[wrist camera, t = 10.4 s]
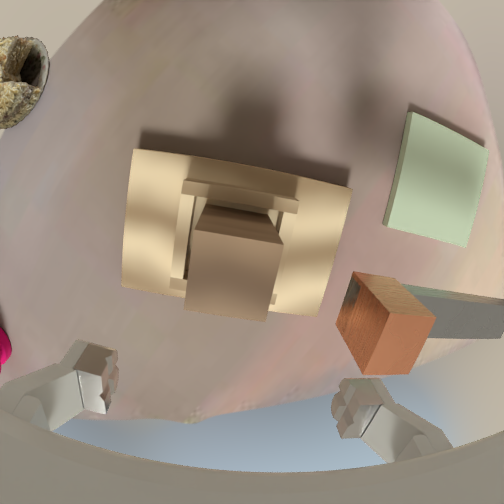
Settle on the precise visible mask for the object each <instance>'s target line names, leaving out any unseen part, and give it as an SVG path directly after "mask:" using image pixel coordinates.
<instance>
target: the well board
mask: <svg viewBox="0 0 504 504" xmlns="http://www.w3.org/2000/svg"><path fill="white" fill-rule="evenodd" d="M352 190H353V189H351V188H348V187H345V186H341V185H337V184H333V183H329V182H325V181H320V180H316V179H312V178H308V177H303V176H299V175H294V174H290V173H285V172H280V171H275V170H270V169H266V168H260V167H255V166H250V165H245V164H239V163H234V162H228V161H223V160H217V159H211V158H204V157H198V156H192V155H185V154H178V153H171V152H163V151H156V150H147V149H134V150H133V157H132V164H131V171H130V178H129V186H128V195H127V205H126V215H125V226H124V240H123V256H122V280H121V286H122V287H127V288H132V289H137V290H143V291H148V292H153V293H159V294H164V295H170V296H176V297H181V298H185V295H186V286H187V278H188V271H189V263H190V256H191V249H192V242H193V235H194V229H195V227H196V225H197V222H198V220H199V218H200V215H201V213H202V211H203V209H204V207H205V204H211V205H217V206H223V207H229V208H235V209H240V210H246V211H251V212H257V213H262V214H268V215H269V217H270V219H271V221H272V223H273V225H274V227H275V229H276V230H277V232H278V234H279V236H280V238H281V240H282V242H283V244H284V248H283V252H282V256H281V260H280V265H279V269H278V273H277V277H276V281H275V285H274V289H273V293H272V297H271V301H270V305H269V309H268V311H273V312H281V313H289V314H297V315H305V316H314V317H317V314H318V311H319V308H320V305H321V301H322V298H323V295H324V292H325V289H326V285H327V282H328V279H329V275H330V272H331V269H332V265H333V262H334V258H335V255H336V251H337V248H338V244H339V241H340V237H341V233H342V230H343V226H344V222H345V218H346V214H347V210H348V207H349V203H350V199H351V194H352Z"/></svg>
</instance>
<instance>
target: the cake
mask: <svg viewBox="0 0 504 504" xmlns="http://www.w3.org/2000/svg"><path fill="white" fill-rule="evenodd" d="M45 48H46V47H45V46H44V45H43V43H42V41H39V40H38V39H34V38H33V37H31V38H28V37H25V38H19V37H18V36H15V37H14V36H12V37H7V38H4V37H3V39H0V129H7V128H10V127H13V126H15V125H17V124H18V123H19V122H20V121H22V120H23V119H24V118H25V116H27V115H28V114H29V113H30V111H31V110H32V109H33V108H34V106H35V104H36V103H37V101H38V100H39V97H40V95H41V93H42V91H43V88H44V85H45V83H46V78H47V76H48V69H49V57H48V52H47V50H46V49H45ZM39 74H40V76H39V80H38V83H37V85H36V87H35V86H32V83H33V82H34V80H35V79H36V78H37V76H38V75H39Z"/></svg>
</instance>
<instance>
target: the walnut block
mask: <svg viewBox="0 0 504 504" xmlns="http://www.w3.org/2000/svg"><path fill="white" fill-rule="evenodd" d="M283 248H284V244H283V242H282V240H281V238H280V236H279V234H278V232H277V230H276V229H275V227H274V225H273V223H272V221H271V219H270V217H269V215H268V214H262V213H257V212H251V211H246V210H240V209H235V208H229V207H223V206H217V205H211V204H205V207H204V209H203V211H202V213H201V215H200V218H199V220H198V222H197V225H196V227H195V229H194V235H193V242H192V249H191V256H190V263H189V271H188V278H187V286H186V295H185V303H184V310H189V311H195V312H201V313H207V314H213V315H220V316H226V317H233V318H240V319H247V320H255V321H262V322H265V321H266V317H267V313H268V309H269V305H270V301H271V297H272V293H273V289H274V285H275V281H276V277H277V273H278V269H279V265H280V260H281V256H282V252H283Z"/></svg>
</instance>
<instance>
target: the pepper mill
mask: <svg viewBox="0 0 504 504" xmlns="http://www.w3.org/2000/svg"><path fill="white" fill-rule="evenodd" d="M11 351H12V350H11V344H10V341H9V339H8V337H7V335H6V334H5V332H4V331H3V330H2V328H1V327H0V372H1V365H2V364H4V363H5V362H6V361H7V359H8V358H9V357H10V355H11Z"/></svg>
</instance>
